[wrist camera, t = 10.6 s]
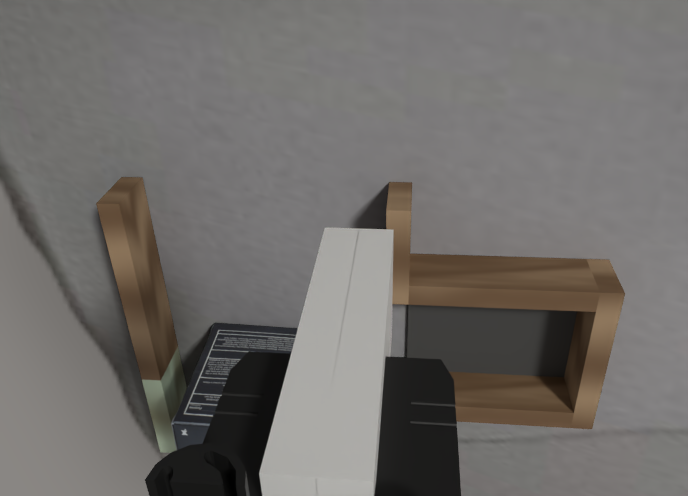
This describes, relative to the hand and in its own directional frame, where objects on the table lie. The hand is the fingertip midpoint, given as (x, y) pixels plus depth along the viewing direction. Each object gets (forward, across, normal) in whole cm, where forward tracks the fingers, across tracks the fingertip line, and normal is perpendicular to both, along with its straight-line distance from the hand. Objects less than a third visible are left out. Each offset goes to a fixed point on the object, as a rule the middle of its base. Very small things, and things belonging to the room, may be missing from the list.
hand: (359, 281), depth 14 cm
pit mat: (+26, +7, -22) cm, 35 cm away
